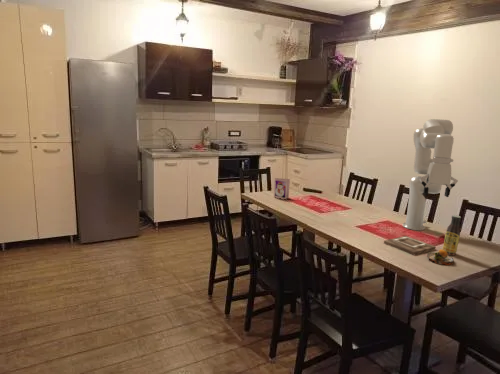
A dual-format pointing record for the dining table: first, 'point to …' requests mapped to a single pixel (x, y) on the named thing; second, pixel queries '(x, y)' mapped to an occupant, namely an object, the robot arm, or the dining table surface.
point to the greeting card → (281, 188)
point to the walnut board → (409, 245)
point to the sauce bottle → (452, 236)
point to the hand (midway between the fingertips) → (436, 195)
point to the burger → (440, 257)
